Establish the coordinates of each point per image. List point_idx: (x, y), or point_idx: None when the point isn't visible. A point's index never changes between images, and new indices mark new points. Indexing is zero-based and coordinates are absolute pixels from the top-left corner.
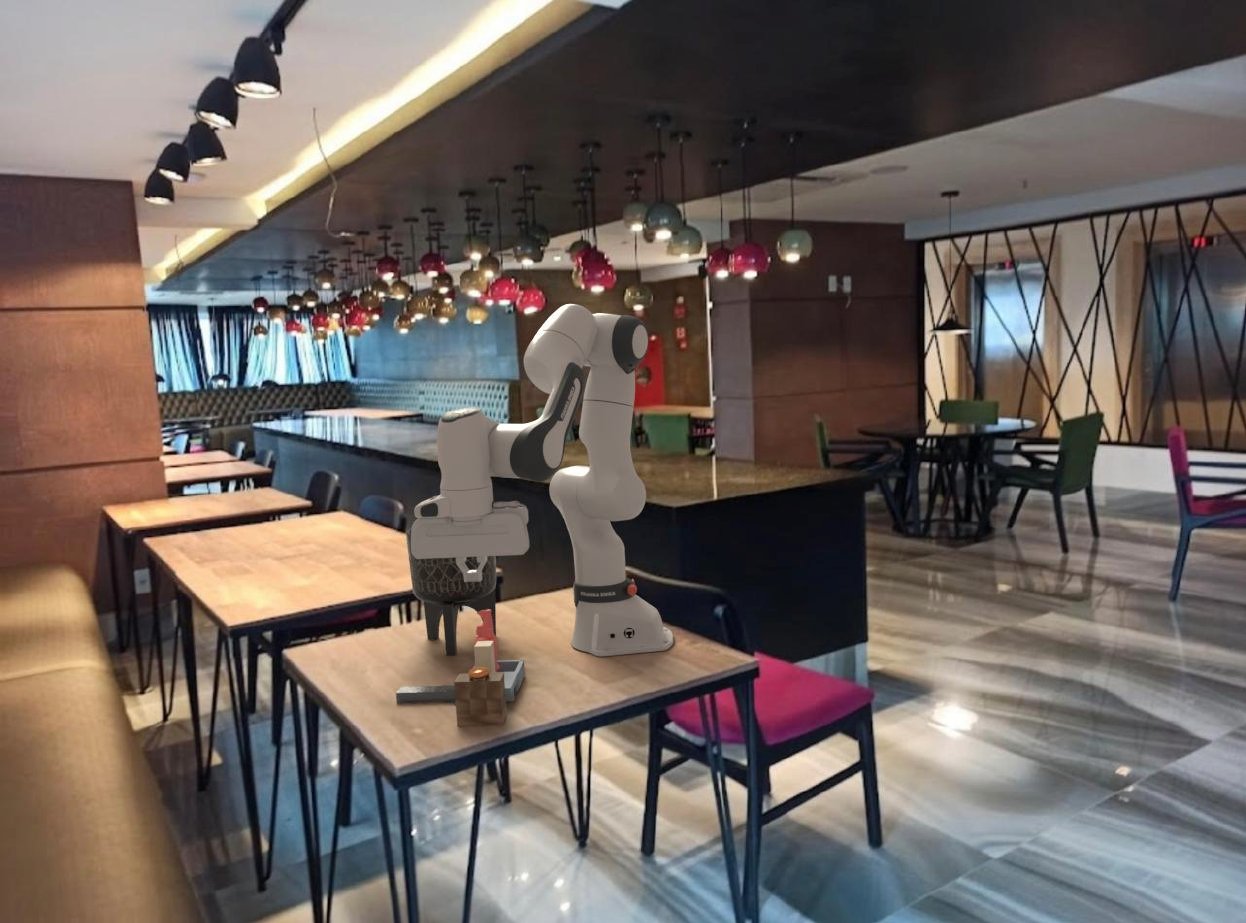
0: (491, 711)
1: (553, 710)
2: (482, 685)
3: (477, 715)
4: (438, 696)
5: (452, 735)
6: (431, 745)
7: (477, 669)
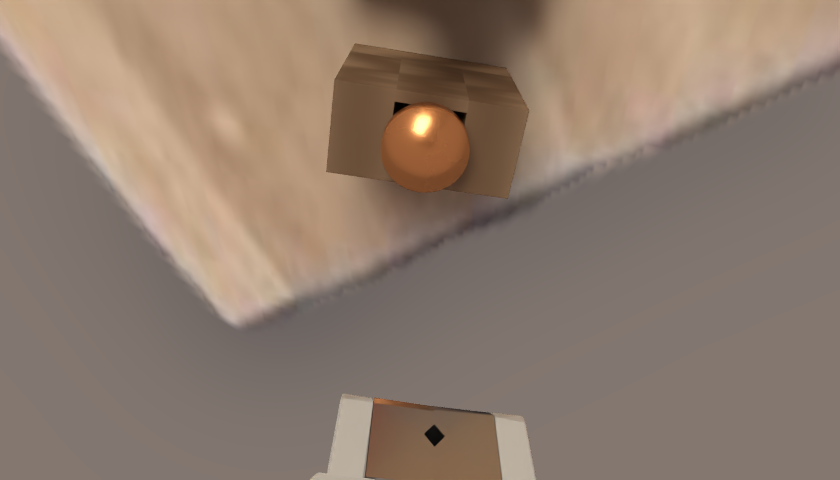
0: None
1: (668, 57)
2: None
3: None
4: None
5: (341, 180)
6: (291, 231)
7: (418, 135)
